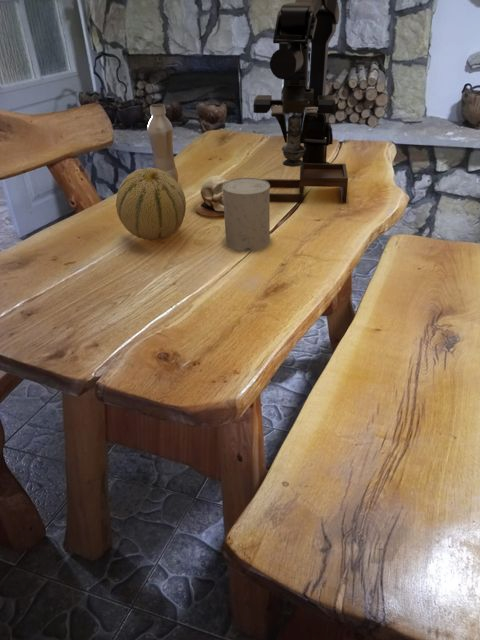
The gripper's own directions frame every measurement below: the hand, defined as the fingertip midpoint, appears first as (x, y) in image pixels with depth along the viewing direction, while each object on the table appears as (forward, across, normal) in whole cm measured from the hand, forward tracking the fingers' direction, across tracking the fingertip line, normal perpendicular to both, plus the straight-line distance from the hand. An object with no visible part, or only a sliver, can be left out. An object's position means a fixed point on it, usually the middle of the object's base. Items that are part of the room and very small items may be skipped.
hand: (293, 142), depth 132 cm
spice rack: (+13, +2, 0) cm, 13 cm away
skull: (+13, -17, -11) cm, 24 cm away
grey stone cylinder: (+13, -9, -29) cm, 33 cm away
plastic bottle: (+13, -34, +4) cm, 36 cm away
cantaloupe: (+13, -29, -27) cm, 42 cm away
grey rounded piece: (+5, 0, 0) cm, 5 cm away
